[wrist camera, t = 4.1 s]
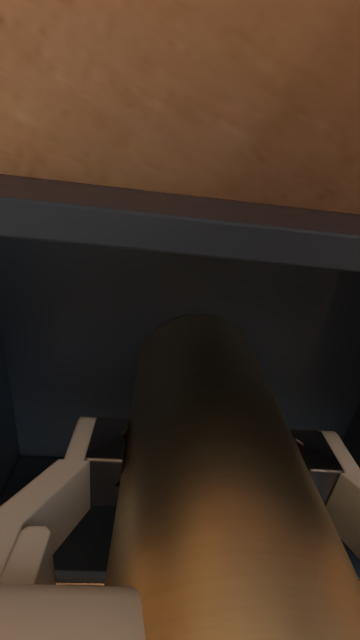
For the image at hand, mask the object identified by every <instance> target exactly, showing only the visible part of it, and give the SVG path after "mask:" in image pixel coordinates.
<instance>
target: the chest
mask: <svg viewBox="0 0 360 640" xmlns="http://www.w3.org/2000/svg"><path fill="white" fill-rule="evenodd" d="M187 315H210V316H215V317H218V318H221V319H224V320H226V321H228V322H230V323H232V324H233V325H235V326H236V327H237V328H238V329H240V330H241V331H242V332H243V334H244V335H245V336H246V337H247V339H248V341H249V343H250V345H251V347H252V349H253V351H254V353H255V355H256V357H257V360H258V362H259V364H260V366H261V368H262V370H263V373H264V375H265V377H266V379H267V381H268V383H269V386H270V388H271V390H272V392H273V394H274V396H275V399H276V401H277V403H278V405H279V407H280V409H281V412H282V414H283V416H284V418H285V420H286V422H287V425H288V427H289V429H300V430H317V431H318V430H323V431H334V432H336V433H337V434H338V436H339V437H340V439H341V440H342V442H343V443H344V445H345V446H346V448H347V450H348V451H349V453H350V454H351V456H352V457H353V459H354V461H355V462H356V464H357V465H358V467H359V468H360V215H358V214H349V213H340V212H331V211H322V210H313V209H304V208H296V207H287V206H278V205H269V204H260V203H251V202H242V201H234V200H225V199H216V198H207V197H198V196H189V195H180V194H171V193H163V192H154V191H145V190H136V189H127V188H118V187H109V186H101V185H92V184H83V183H74V182H65V181H56V180H47V179H38V178H30V177H21V176H12V175H3V174H0V506H1V505H3V504H4V503H5V502H6V501H8V500H9V499H10V498H11V497H12V496H14V495H15V494H16V493H17V492H19V491H20V490H21V489H22V488H24V487H25V486H26V485H27V484H29V483H30V482H31V481H32V480H33V479H35V478H36V477H37V476H38V475H40V474H41V473H42V472H43V471H45V470H46V469H47V468H48V467H49V466H51V465H52V464H53V463H54V462H56V461H57V460H58V459H64V457H65V454H66V452H67V449H68V446H69V443H70V441H71V438H72V435H73V432H74V430H75V427H76V424H77V421H78V419H79V418H80V416H87V417H103V418H115V419H127V420H130V415H131V409H132V402H133V396H134V389H135V383H136V376H137V370H138V363H139V356H140V353H141V350H142V348H143V346H144V344H145V342H146V341H147V339H148V338H149V337H150V335H151V334H152V333H153V332H154V331H155V330H157V329H158V328H159V327H160V326H162V325H163V324H165V323H167V322H169V321H171V320H173V319H176V318H179V317H183V316H187ZM115 513H116V506H90V509H89V511H88V512H87V513H86V514H85V516H84V517H83V518H82V519H81V521H80V522H79V523H78V524H77V526H76V527H75V528H74V529H73V530H72V532H71V533H70V534H69V535H68V537H67V538H66V539H65V540H64V542H63V543H62V544H61V545H60V547H59V548H58V549H57V550H56V551H55V553H54V554H53V562H54V572H55V582H56V583H103V584H105V578H106V572H107V565H108V558H109V552H110V545H111V539H112V532H113V526H114V519H115ZM340 539H341V538H340ZM341 541H342V539H341ZM342 543H343V546H344V548H345V550H346V552H347V554H348V556H349V559H350V561H351V563H352V565H353V567H354V569H355V572H356V574H357V576H358V578H359V580H360V559H359V558H358V557H357V556H356V555H355V554H354V553H353V552H352V551H351V549H350V548H349V547H348V546H347V545H346V544H345V543H344V542H343V541H342Z"/></svg>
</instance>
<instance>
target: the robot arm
mask: <svg viewBox="0 0 360 640" xmlns="http://www.w3.org/2000/svg"><path fill="white" fill-rule="evenodd" d="M129 425H130V420H127V419H115V418H103V417H87V416H80V418H79V419H78V421H77V424H76V427H75V430H74V432H73V435H72V438H71V441H70V443H69V446H68V449H67V452H66V454H65V457H64V459H58V460H57V461H56V462H54V463H53V464H52V465H51V466H49V467H48V468H47V469H46V470H45V471H43V472H42V473H41V474H40V475H38V476H37V477H36V478H35V479H33V480H32V481H31V482H30V483H29V484H27V485H26V486H25V487H24V488H22V489H21V490H20V491H19V492H17V493H16V494H15V495H14V496H12V497H11V498H10V499H9V500H8V501H6V502H5V503H4V504H3V505H1V506H0V640H146V637H145V629H144V622H143V614H142V605H141V597H140V593H139V592H138V590H137V589H136V588H134V587H132V586H95V585H56V582H55V572H54V562H53V554H54V553H55V551H56V550H57V549H58V548H59V547H60V545H61V544H62V543H63V542H64V540H65V539H66V538H67V537H68V535H69V534H70V533H71V532H72V530H73V529H74V528H75V527H76V526H77V524H78V523H79V522H80V521H81V519H82V518H83V517H84V516H85V514H86V513H87V512H88V511H89V509H90V506H117V500H118V493H119V487H120V480H121V475H122V471H123V465H124V458H125V450H126V443H127V439H128V432H129ZM290 431H291V433H292V435H293V437H294V440H295V442H296V444H297V446H298V448H299V450H300V453H301V455H302V457H303V459H304V461H305V463H306V466H307V468H308V470H309V472H310V474H311V476H312V479H313V481H314V483H315V485H316V487H317V489H318V492H319V494H320V496H321V498H322V500H323V502H324V505H325V507H326V509H327V511H328V513H329V515H330V518H331V520H332V522H333V524H334V526H335V528H336V530H337V533H338V535H339V537H340V538H341V539H342V541H343V542H344V543H345V544H346V545H347V546H348V547H349V548H350V549H351V551H352V552H353V553H354V554H355V555H356V556H357V557H358V558H359V559H360V468H359V467H358V465H357V464H356V462H355V461H354V459H353V457H352V456H351V454H350V453H349V451H348V450H347V448H346V446H345V445H344V443H343V442H342V440H341V439H340V437H339V436H338V434H337V433H336V432H334V431H323V430H318V431H317V430H300V429H290Z"/></svg>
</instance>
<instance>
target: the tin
mask: <svg viewBox="0 0 360 640" xmlns="http://www.w3.org/2000/svg"><path fill="white" fill-rule="evenodd" d="M104 586H132V587H134V588H136V589H137V590H138V592H139V593H140V597H141V605H142V614H143V622H144V629H145V637H146V640H360V580H359V578H358V576H357V574H356V572H355V569H354V567H353V565H352V563H351V561H350V559H349V556H348V554H347V552H346V550H345V548H344V546H343V543H342V541H341V539H340V537H339V535H338V533H337V530H336V528H335V526H334V524H333V522H332V520H331V518H330V515H329V513H328V511H327V509H326V507H325V505H324V502H323V500H322V498H321V496H320V494H319V492H318V489H317V487H316V485H315V483H314V481H313V479H312V476H311V474H310V472H309V470H308V468H307V466H306V463H305V461H304V459H303V457H302V455H301V453H300V450H299V448H298V446H297V444H296V442H295V440H294V437H293V435H292V433H291V431H290V429H289V427H288V425H287V422H286V420H285V418H284V416H283V414H282V412H281V409H280V407H279V405H278V403H277V401H276V399H275V396H274V394H273V392H272V390H271V388H270V386H269V383H268V381H267V379H266V377H265V375H264V373H263V370H262V368H261V366H260V364H259V362H258V360H257V357H256V355H255V353H254V351H253V349H252V347H251V345H250V343H249V341H248V339H247V337H246V336H245V335H244V334H243V332H242V331H241V330H240V329H238V328H237V327H236V326H235V325H233V324H232V323H230V322H228V321H226V320H224V319H221V318H218V317H215V316H210V315H187V316H183V317H179V318H176V319H173V320H171V321H169V322H167V323H165V324H163V325H162V326H160V327H159V328H158V329H157V330H155V331H154V332H153V333H152V334H151V335H150V337H149V338H148V339H147V341H146V342H145V344H144V346H143V348H142V350H141V353H140V356H139V363H138V370H137V376H136V383H135V389H134V396H133V402H132V409H131V415H130V425H129V432H128V439H127V443H126V450H125V458H124V465H123V471H122V475H121V480H120V487H119V493H118V500H117V506H116V513H115V519H114V526H113V532H112V539H111V545H110V552H109V558H108V565H107V572H106V578H105V585H104Z"/></svg>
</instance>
